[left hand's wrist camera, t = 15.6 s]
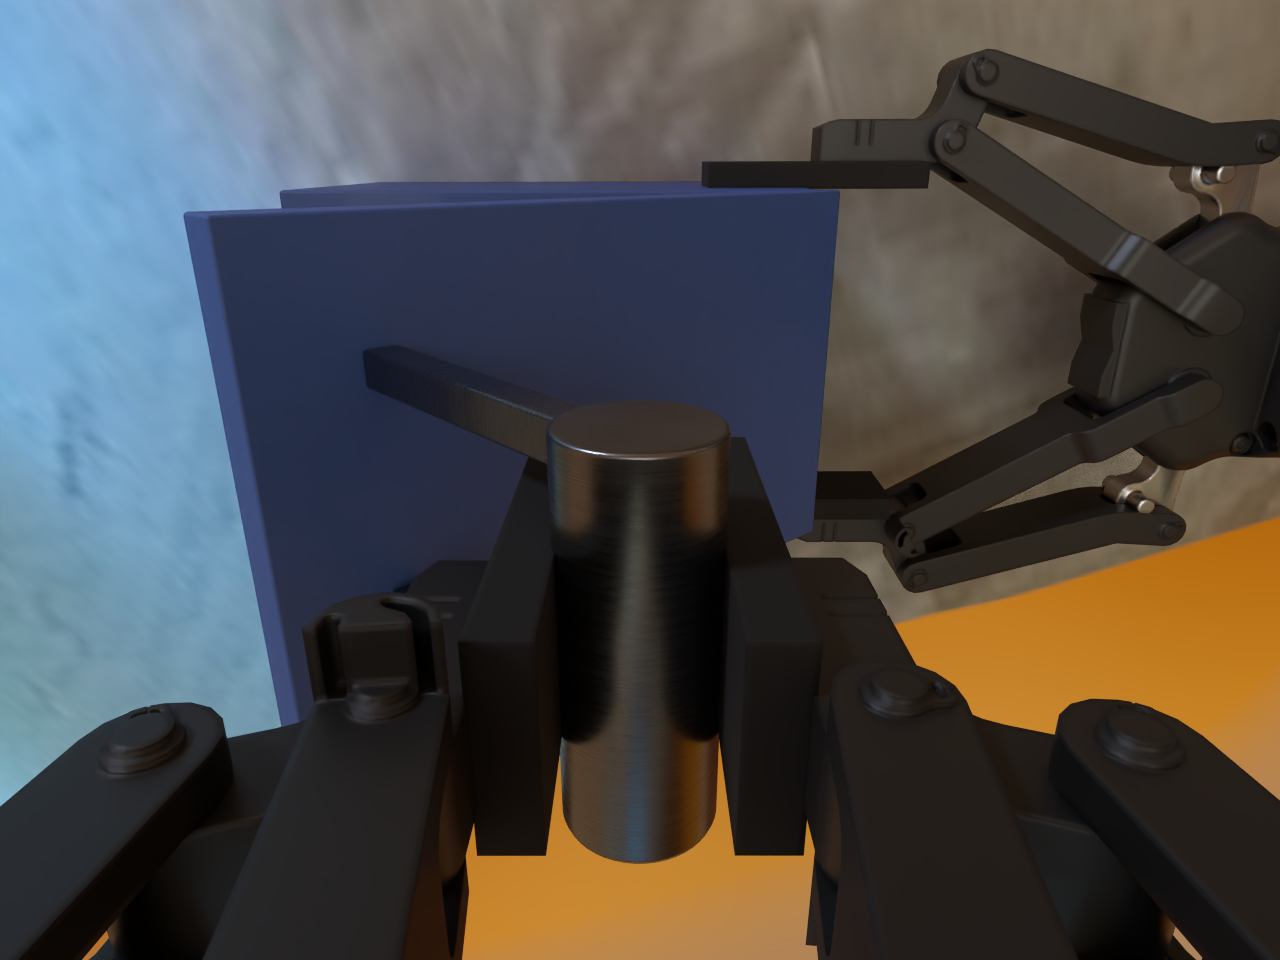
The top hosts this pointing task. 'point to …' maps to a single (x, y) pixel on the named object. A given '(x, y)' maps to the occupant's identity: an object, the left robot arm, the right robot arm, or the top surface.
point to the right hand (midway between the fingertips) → (700, 346)
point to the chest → (484, 192)
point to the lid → (530, 437)
